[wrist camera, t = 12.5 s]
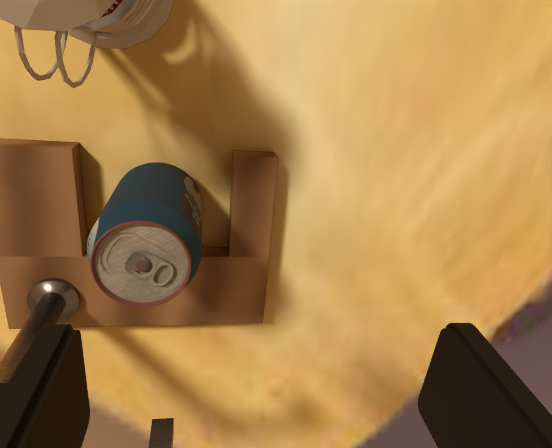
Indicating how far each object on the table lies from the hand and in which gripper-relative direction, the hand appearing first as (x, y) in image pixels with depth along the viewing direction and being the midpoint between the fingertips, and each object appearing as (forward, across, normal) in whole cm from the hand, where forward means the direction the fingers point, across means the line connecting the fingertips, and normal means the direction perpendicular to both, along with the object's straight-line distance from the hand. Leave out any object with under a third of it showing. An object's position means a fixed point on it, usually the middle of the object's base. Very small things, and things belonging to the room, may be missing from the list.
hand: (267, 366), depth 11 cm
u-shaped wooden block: (+26, +7, +9) cm, 28 cm away
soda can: (+26, +6, +6) cm, 27 cm away
